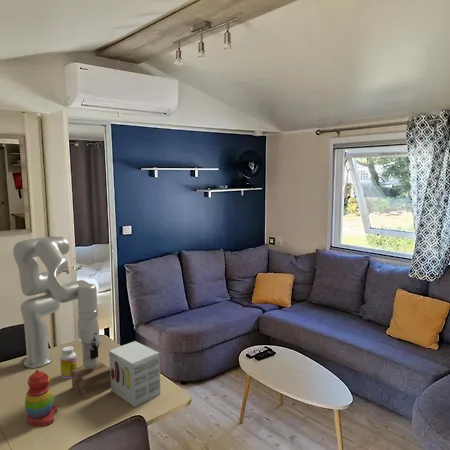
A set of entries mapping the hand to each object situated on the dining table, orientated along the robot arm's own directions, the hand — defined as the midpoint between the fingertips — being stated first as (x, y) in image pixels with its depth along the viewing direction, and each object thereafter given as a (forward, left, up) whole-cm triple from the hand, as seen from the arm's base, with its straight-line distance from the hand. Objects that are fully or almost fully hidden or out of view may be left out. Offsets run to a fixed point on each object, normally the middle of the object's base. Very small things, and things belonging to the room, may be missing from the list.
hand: (90, 355), depth 171 cm
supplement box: (+17, +10, -15) cm, 25 cm away
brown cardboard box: (0, 0, -14) cm, 14 cm away
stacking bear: (+6, -24, -15) cm, 28 cm away
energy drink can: (0, 0, -5) cm, 5 cm away
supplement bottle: (-17, -2, -15) cm, 22 cm away
